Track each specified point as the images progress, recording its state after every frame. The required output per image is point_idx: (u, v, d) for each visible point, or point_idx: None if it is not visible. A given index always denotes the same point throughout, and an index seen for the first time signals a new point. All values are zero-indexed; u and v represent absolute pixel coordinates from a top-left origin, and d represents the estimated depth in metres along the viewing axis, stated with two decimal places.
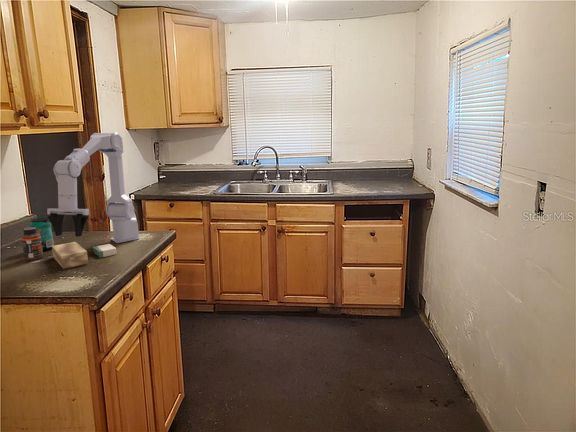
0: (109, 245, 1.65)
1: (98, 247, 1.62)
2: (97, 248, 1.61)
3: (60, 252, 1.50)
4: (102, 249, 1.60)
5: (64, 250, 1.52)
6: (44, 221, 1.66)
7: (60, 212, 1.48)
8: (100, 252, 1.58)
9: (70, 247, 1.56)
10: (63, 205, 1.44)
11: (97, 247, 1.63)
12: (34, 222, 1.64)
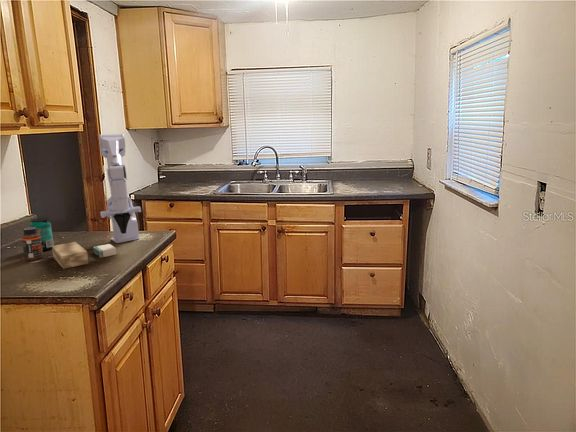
0: (109, 245, 1.65)
1: (98, 247, 1.62)
2: (97, 248, 1.61)
3: (60, 252, 1.50)
4: (102, 249, 1.60)
5: (64, 250, 1.52)
6: (44, 221, 1.66)
7: None
8: (100, 252, 1.58)
9: (70, 247, 1.56)
10: (124, 206, 1.61)
11: (97, 247, 1.63)
12: (34, 222, 1.64)
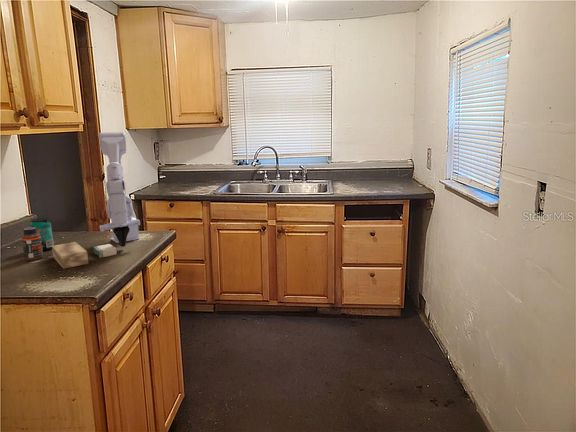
0: (109, 245, 1.65)
1: (98, 247, 1.62)
2: (97, 248, 1.61)
3: (60, 252, 1.50)
4: (102, 249, 1.60)
5: (64, 250, 1.52)
6: (44, 221, 1.66)
7: (112, 227, 1.63)
8: (100, 252, 1.58)
9: (70, 247, 1.56)
10: (123, 220, 1.62)
11: (97, 247, 1.63)
12: (34, 222, 1.64)
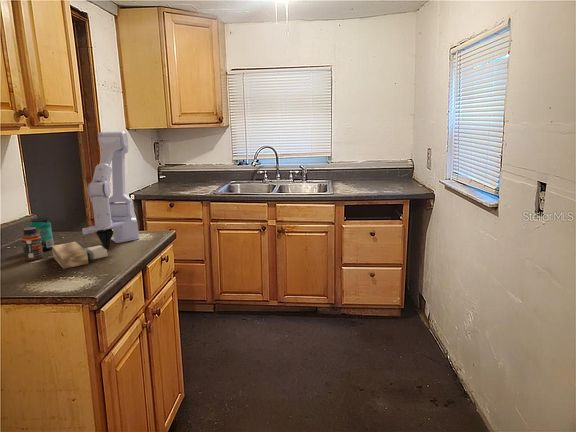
0: (100, 246, 1.63)
1: (89, 248, 1.60)
2: (87, 250, 1.59)
3: (60, 252, 1.50)
4: (93, 251, 1.58)
5: (64, 250, 1.52)
6: (44, 221, 1.66)
7: (95, 230, 1.59)
8: (90, 254, 1.56)
9: (70, 247, 1.56)
10: (106, 222, 1.58)
11: (87, 248, 1.61)
12: (34, 222, 1.64)
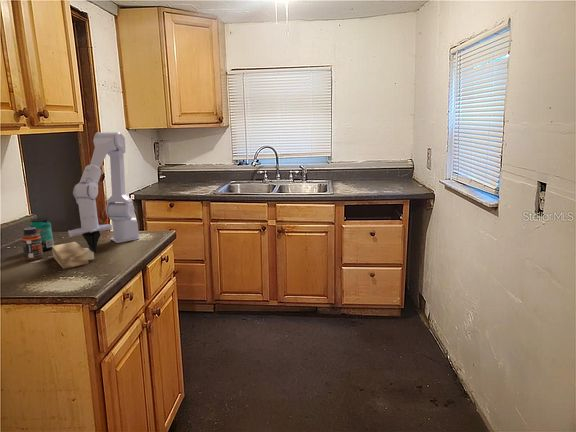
0: (87, 249, 1.60)
1: None
2: None
3: (60, 252, 1.50)
4: None
5: (64, 250, 1.52)
6: (44, 221, 1.66)
7: None
8: None
9: (70, 247, 1.56)
10: (93, 225, 1.56)
11: None
12: (34, 222, 1.64)
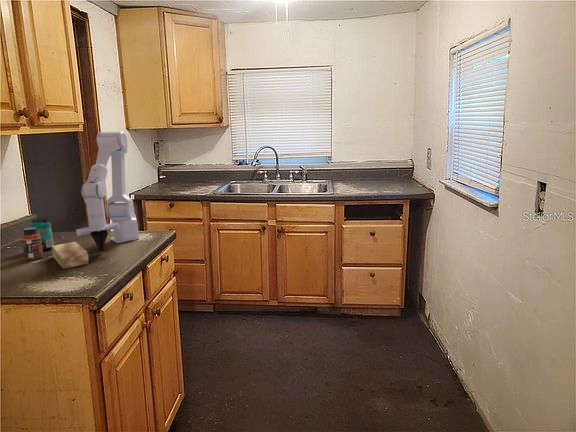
0: None
1: None
2: None
3: (60, 252, 1.50)
4: None
5: (64, 250, 1.52)
6: (44, 221, 1.66)
7: (89, 231, 1.58)
8: None
9: (70, 247, 1.56)
10: (100, 224, 1.57)
11: None
12: (34, 222, 1.64)
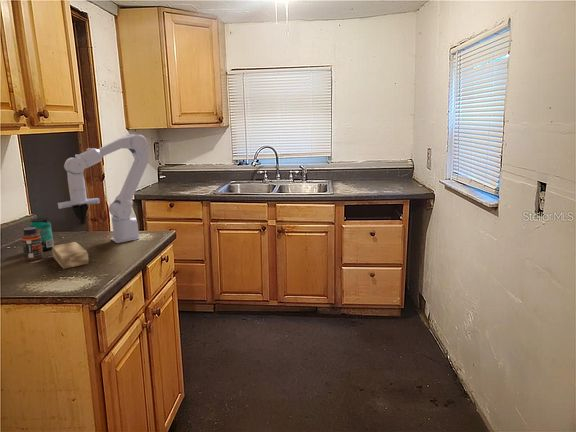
0: None
1: None
2: None
3: (60, 252, 1.50)
4: None
5: (64, 250, 1.52)
6: (44, 221, 1.66)
7: None
8: None
9: (70, 247, 1.56)
10: (81, 197, 1.65)
11: None
12: (34, 222, 1.64)
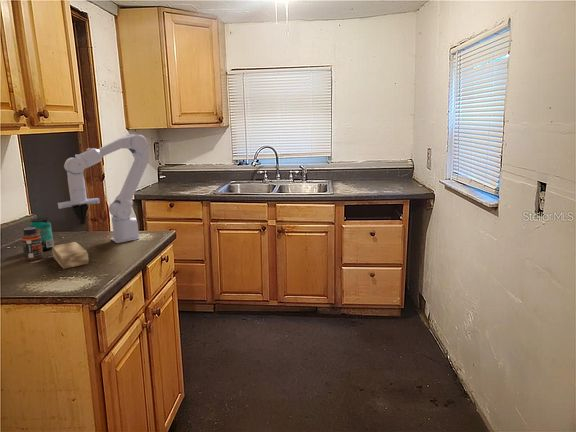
0: None
1: None
2: None
3: (60, 252, 1.50)
4: None
5: (64, 250, 1.52)
6: (44, 221, 1.66)
7: None
8: None
9: (70, 247, 1.56)
10: (81, 197, 1.65)
11: None
12: (34, 222, 1.64)
